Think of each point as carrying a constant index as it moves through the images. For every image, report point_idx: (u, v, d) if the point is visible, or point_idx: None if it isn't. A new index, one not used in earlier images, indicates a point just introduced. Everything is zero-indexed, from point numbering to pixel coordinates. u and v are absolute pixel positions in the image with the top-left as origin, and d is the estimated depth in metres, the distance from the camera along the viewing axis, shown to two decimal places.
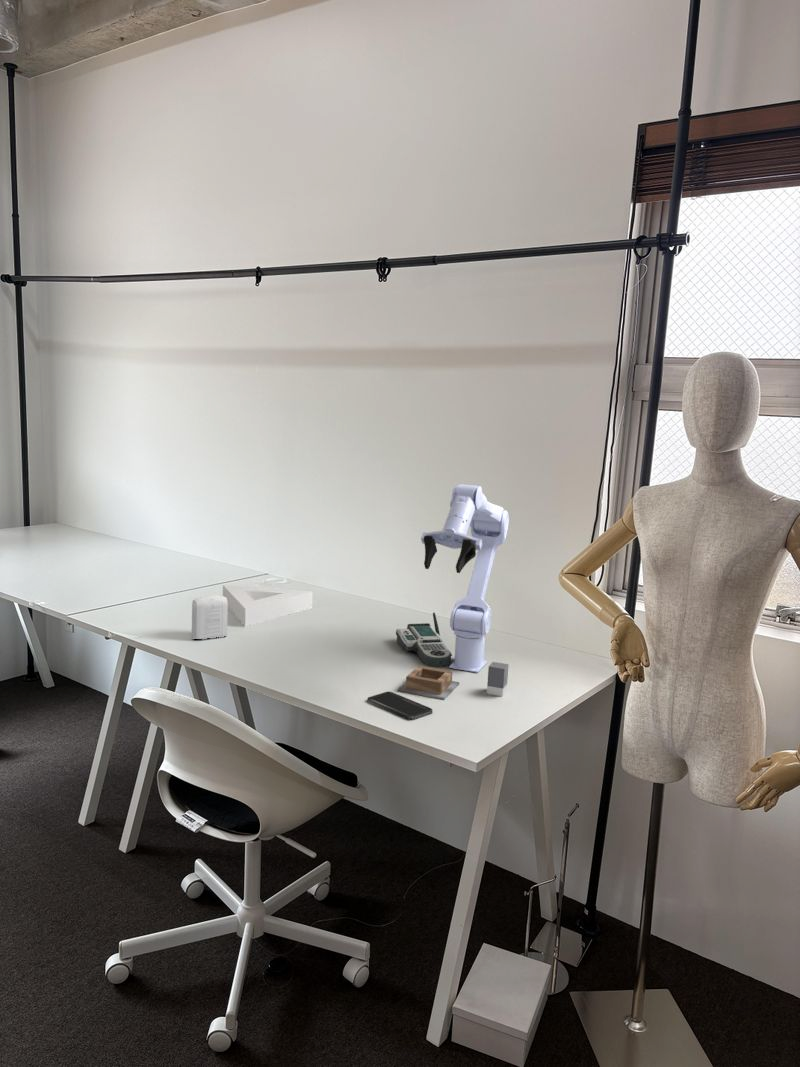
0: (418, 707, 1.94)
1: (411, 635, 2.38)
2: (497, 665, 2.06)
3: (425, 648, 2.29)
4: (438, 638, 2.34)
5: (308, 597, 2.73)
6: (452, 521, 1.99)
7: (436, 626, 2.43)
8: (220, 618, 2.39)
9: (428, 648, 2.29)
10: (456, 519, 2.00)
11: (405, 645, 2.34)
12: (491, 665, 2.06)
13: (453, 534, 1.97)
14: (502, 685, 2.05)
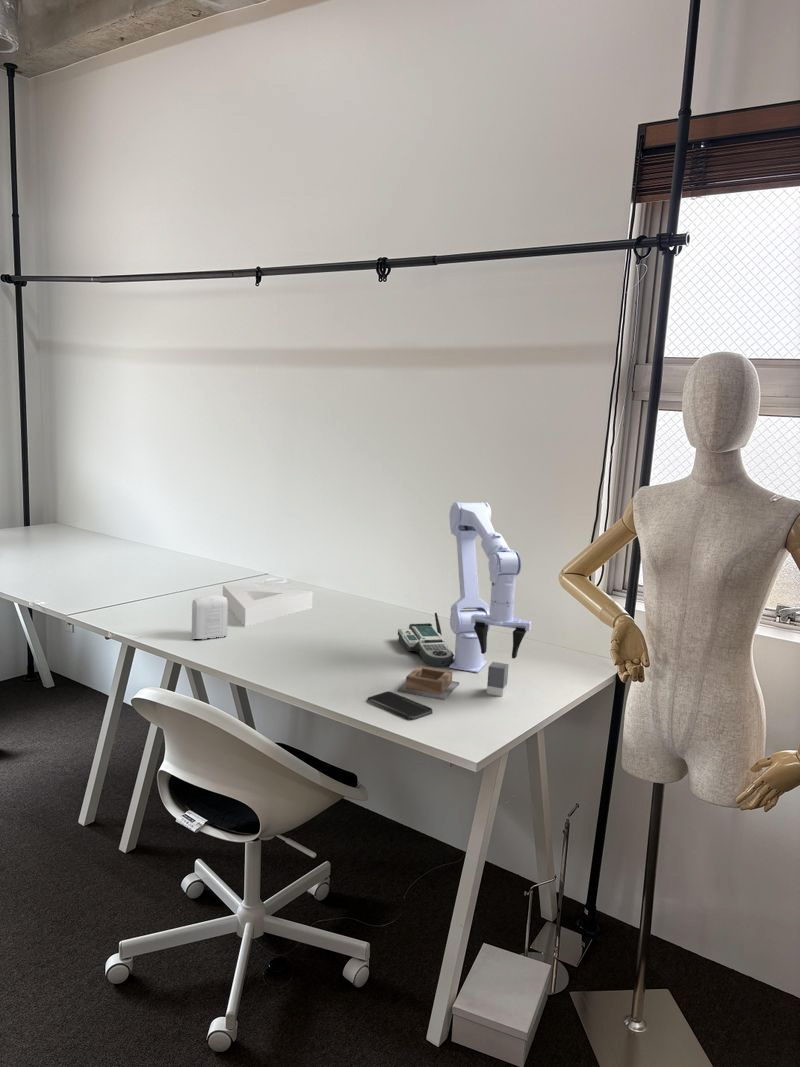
0: (418, 707, 1.94)
1: (413, 635, 2.38)
2: (497, 665, 2.06)
3: (427, 648, 2.29)
4: (440, 638, 2.34)
5: (308, 597, 2.73)
6: (497, 609, 2.01)
7: (438, 626, 2.43)
8: (220, 618, 2.39)
9: (430, 648, 2.29)
10: (501, 607, 2.01)
11: (407, 645, 2.34)
12: (491, 665, 2.06)
13: None
14: (502, 685, 2.05)
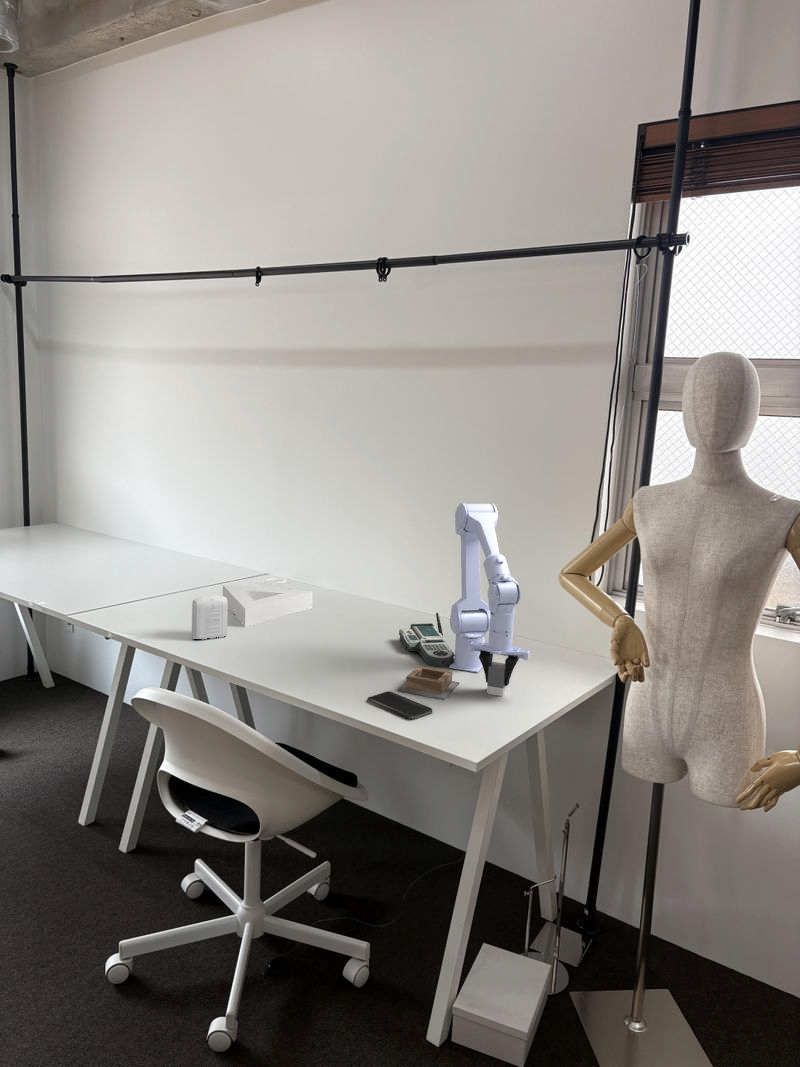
0: (418, 707, 1.94)
1: (414, 635, 2.38)
2: (497, 665, 2.06)
3: (428, 648, 2.29)
4: (441, 638, 2.34)
5: (308, 597, 2.73)
6: (496, 639, 2.03)
7: (439, 626, 2.43)
8: (220, 618, 2.39)
9: (431, 648, 2.29)
10: (499, 636, 2.02)
11: (408, 645, 2.34)
12: (491, 665, 2.06)
13: None
14: (502, 685, 2.05)
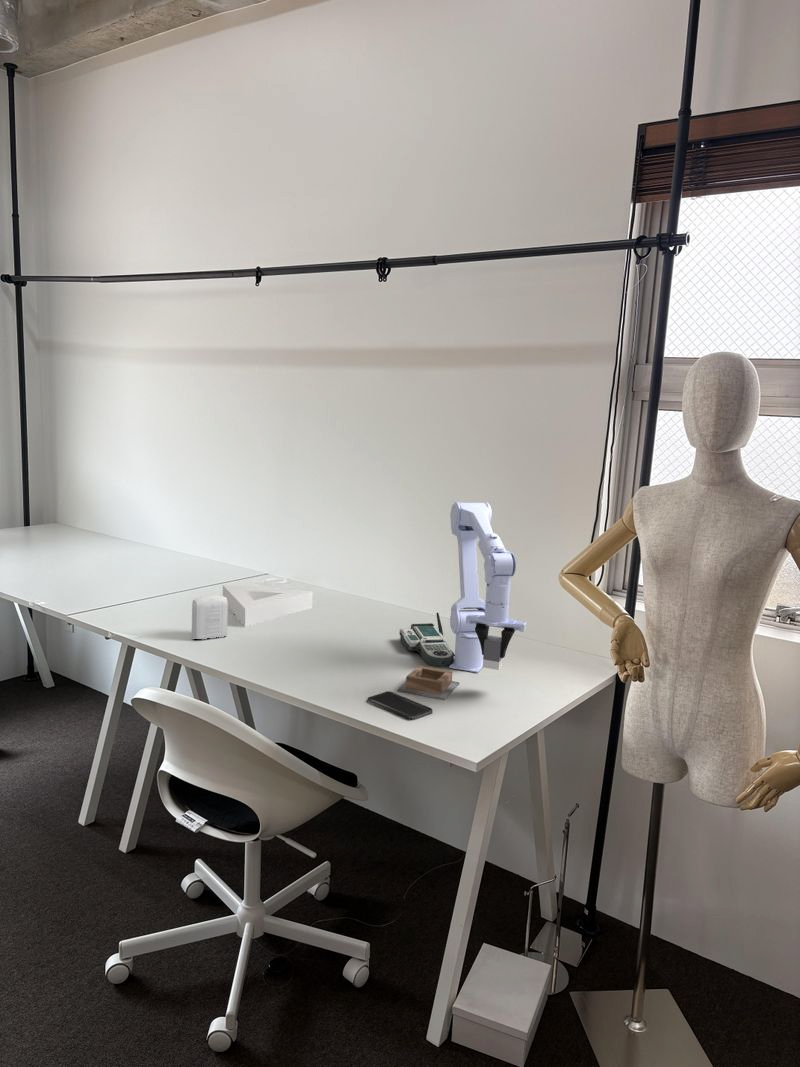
0: (418, 707, 1.94)
1: (414, 635, 2.38)
2: (493, 638, 2.05)
3: (428, 648, 2.29)
4: (441, 638, 2.34)
5: (308, 597, 2.73)
6: (492, 610, 2.02)
7: (439, 626, 2.43)
8: (220, 618, 2.39)
9: (431, 648, 2.29)
10: (496, 608, 2.01)
11: (409, 645, 2.34)
12: (487, 638, 2.05)
13: None
14: (498, 658, 2.04)
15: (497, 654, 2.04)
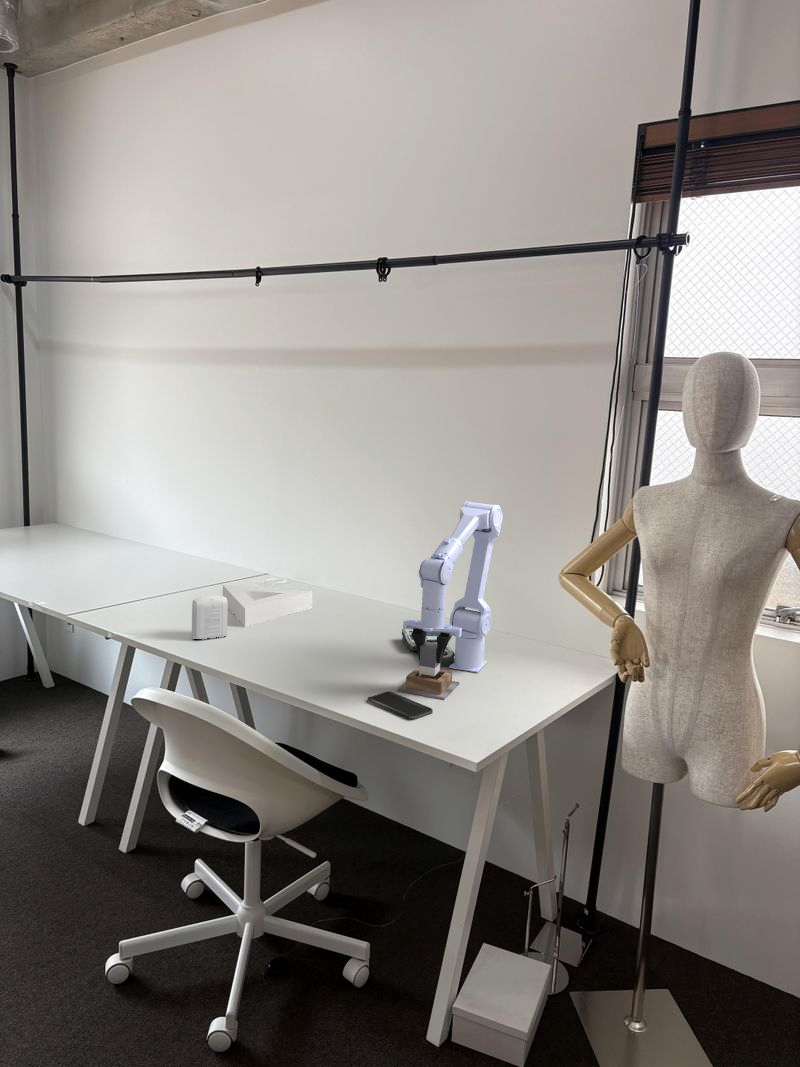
0: (418, 707, 1.94)
1: None
2: (429, 645, 2.06)
3: None
4: None
5: (308, 597, 2.73)
6: (428, 616, 2.03)
7: None
8: (220, 618, 2.39)
9: None
10: (431, 613, 2.02)
11: (410, 644, 2.35)
12: (423, 645, 2.06)
13: None
14: (434, 665, 2.05)
15: (433, 660, 2.05)
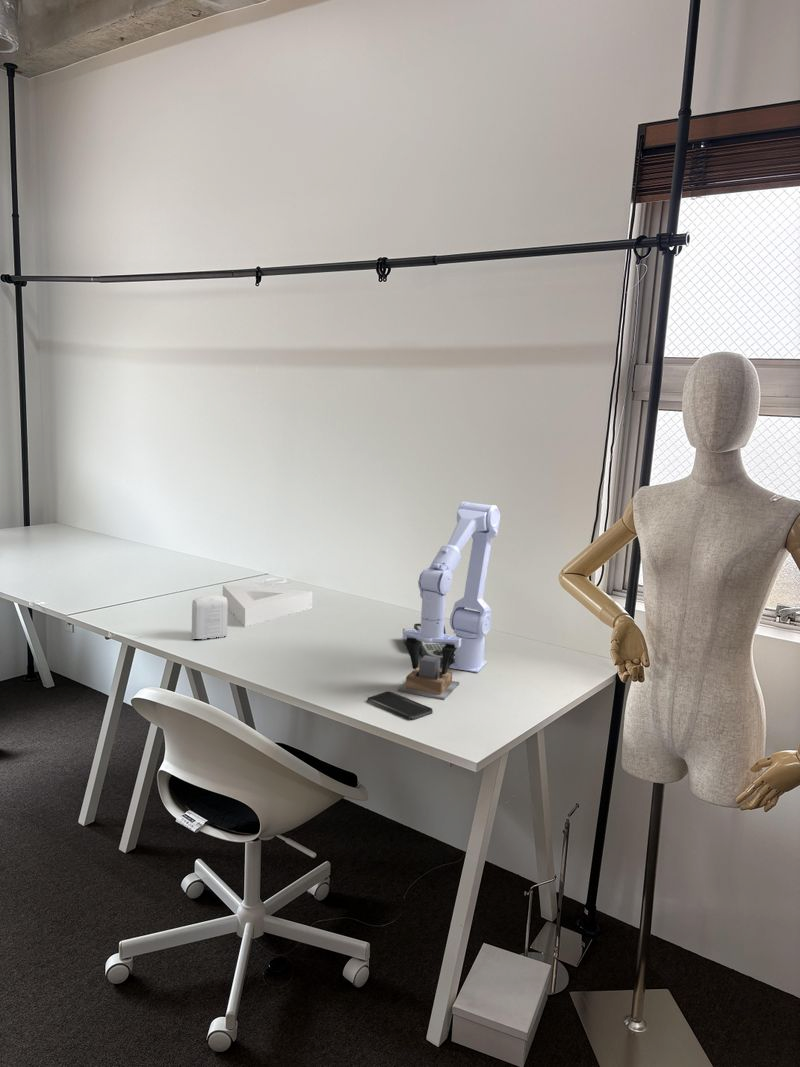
0: (418, 707, 1.94)
1: None
2: (428, 658, 2.07)
3: (429, 648, 2.30)
4: None
5: (308, 597, 2.73)
6: (427, 626, 2.03)
7: None
8: (220, 618, 2.39)
9: (431, 648, 2.30)
10: (430, 623, 2.03)
11: None
12: (422, 658, 2.07)
13: None
14: (433, 678, 2.05)
15: (432, 674, 2.05)
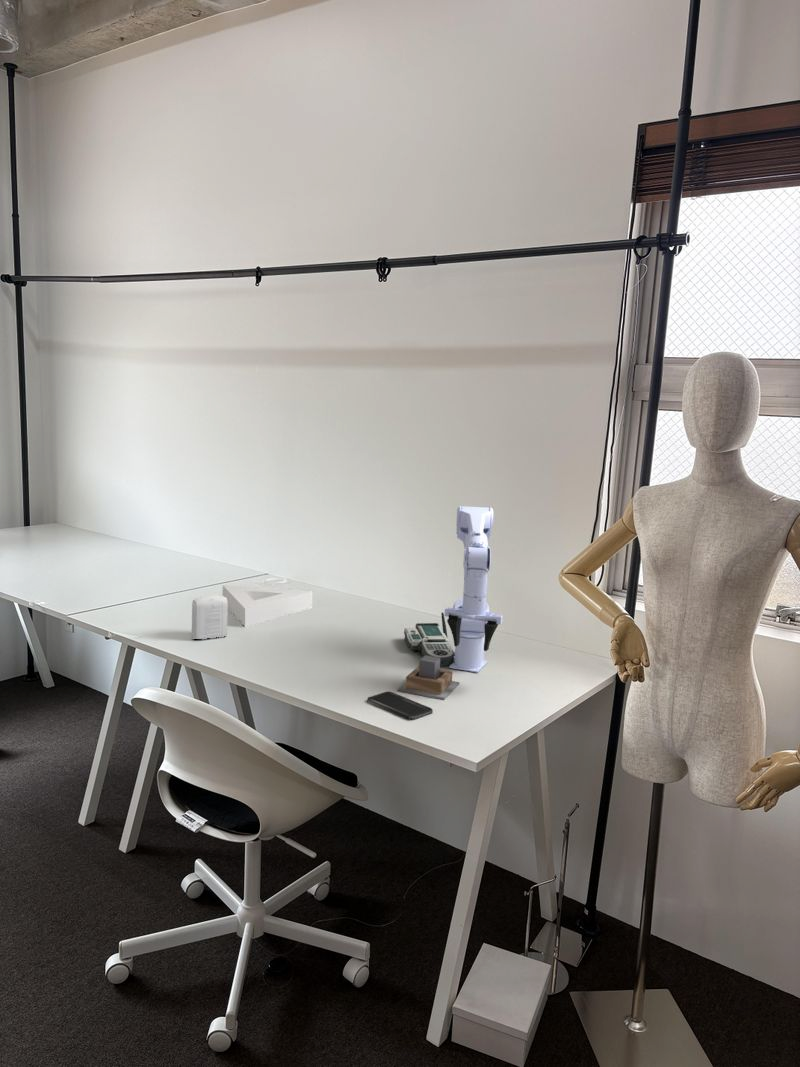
0: (418, 707, 1.94)
1: (417, 634, 2.39)
2: (428, 658, 2.07)
3: (429, 648, 2.30)
4: (443, 638, 2.35)
5: (308, 597, 2.73)
6: (469, 603, 2.07)
7: (444, 626, 2.43)
8: (220, 618, 2.39)
9: (431, 648, 2.30)
10: (473, 600, 2.07)
11: (411, 644, 2.35)
12: (422, 658, 2.07)
13: None
14: (433, 678, 2.05)
15: (432, 674, 2.05)
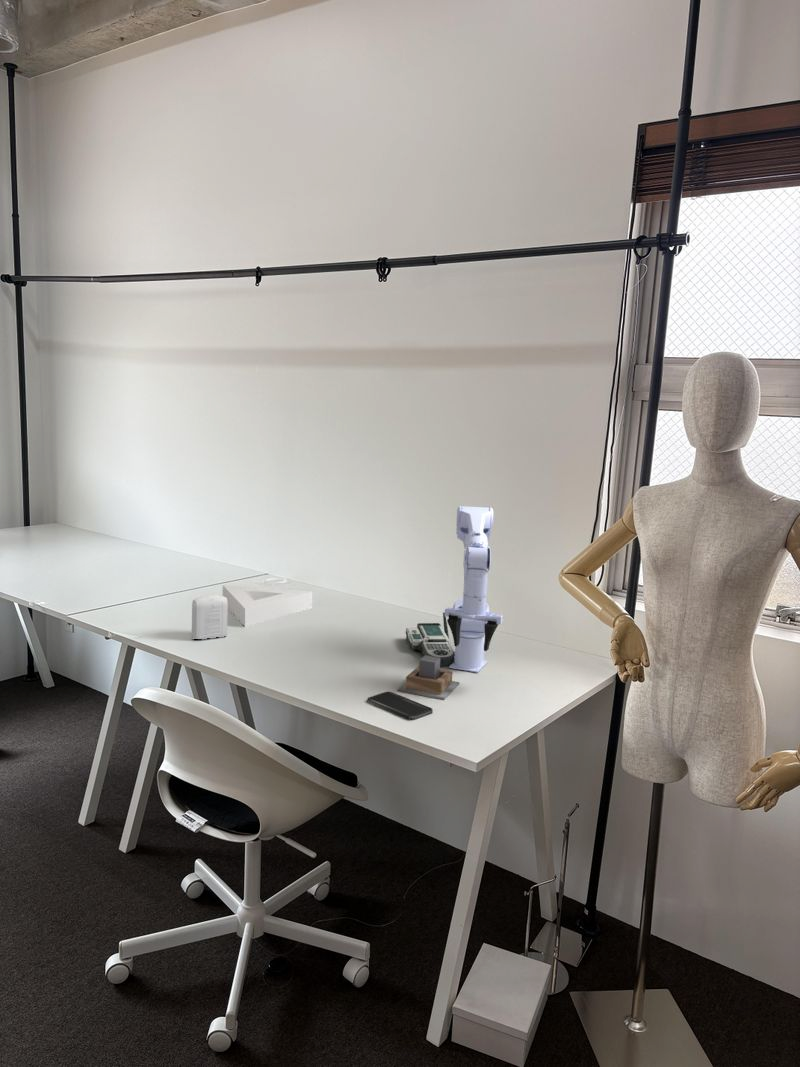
0: (418, 707, 1.94)
1: (418, 634, 2.39)
2: (428, 658, 2.07)
3: (429, 647, 2.30)
4: (444, 638, 2.35)
5: (308, 597, 2.73)
6: (470, 603, 2.07)
7: (445, 626, 2.43)
8: (220, 618, 2.39)
9: (432, 648, 2.30)
10: (473, 600, 2.07)
11: (412, 644, 2.36)
12: (422, 658, 2.07)
13: None
14: (433, 678, 2.05)
15: (432, 674, 2.05)
